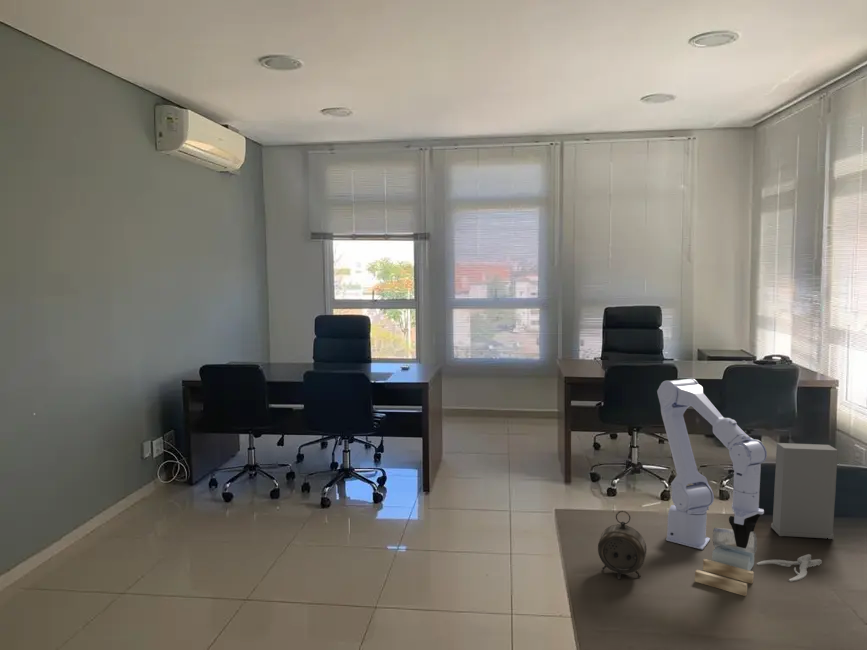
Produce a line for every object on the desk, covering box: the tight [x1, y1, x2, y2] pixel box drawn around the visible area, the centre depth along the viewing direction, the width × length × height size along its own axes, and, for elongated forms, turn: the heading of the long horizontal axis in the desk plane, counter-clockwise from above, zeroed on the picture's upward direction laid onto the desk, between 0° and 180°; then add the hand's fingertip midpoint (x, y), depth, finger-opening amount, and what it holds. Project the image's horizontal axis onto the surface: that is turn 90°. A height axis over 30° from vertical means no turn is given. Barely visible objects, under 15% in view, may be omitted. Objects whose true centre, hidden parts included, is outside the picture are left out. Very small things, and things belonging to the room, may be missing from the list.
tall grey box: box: [770, 442, 839, 540], centre depth 175 cm, size 14×6×25 cm, turn 82°
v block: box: [711, 547, 756, 571], centre depth 157 cm, size 8×8×4 cm
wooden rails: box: [694, 558, 755, 597], centre depth 149 cm, size 11×8×2 cm
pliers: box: [755, 553, 822, 583], centre depth 156 cm, size 10×2×15 cm
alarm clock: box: [597, 510, 647, 580], centre depth 151 cm, size 11×5×16 cm, turn 65°
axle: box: [712, 527, 758, 554], centre depth 156 cm, size 9×5×5 cm, turn 52°
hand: (743, 543), depth 155 cm, fingers closed on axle, 5 cm apart
